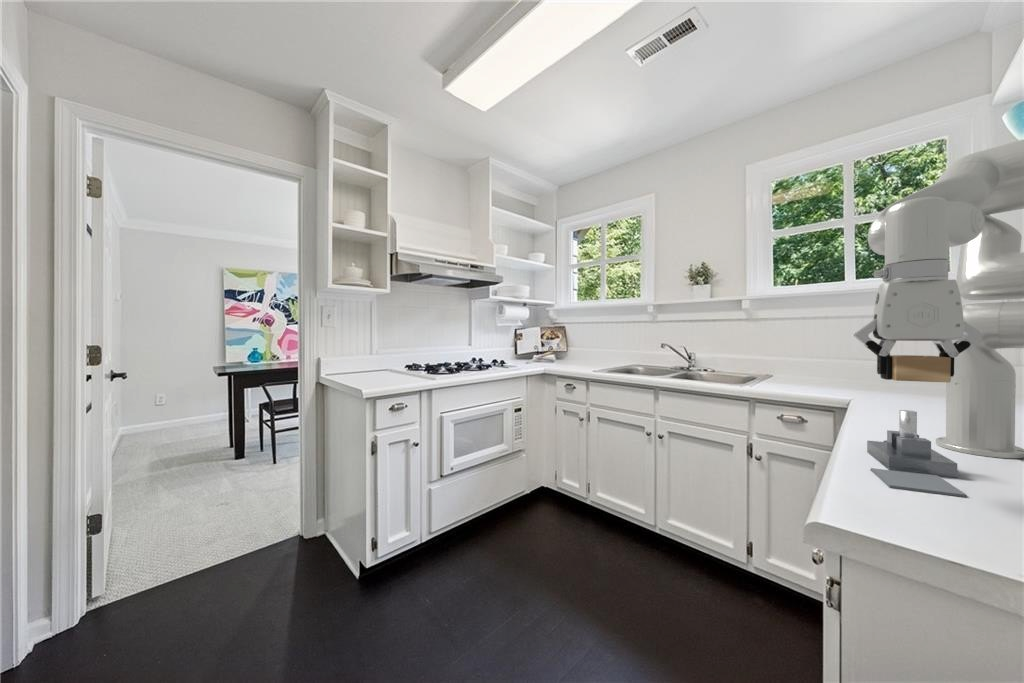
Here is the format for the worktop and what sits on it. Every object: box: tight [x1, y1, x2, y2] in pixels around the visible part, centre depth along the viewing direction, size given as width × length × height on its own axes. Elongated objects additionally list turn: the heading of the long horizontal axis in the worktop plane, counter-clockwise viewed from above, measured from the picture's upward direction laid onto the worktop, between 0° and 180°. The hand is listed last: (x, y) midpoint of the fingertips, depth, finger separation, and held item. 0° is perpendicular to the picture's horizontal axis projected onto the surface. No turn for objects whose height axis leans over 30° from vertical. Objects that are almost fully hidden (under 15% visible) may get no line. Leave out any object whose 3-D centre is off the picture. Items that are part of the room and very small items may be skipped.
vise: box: [866, 409, 958, 478], centre depth 78 cm, size 17×9×10 cm, turn 152°
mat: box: [870, 467, 968, 498], centre depth 67 cm, size 9×9×1 cm
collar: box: [890, 354, 951, 383], centre depth 66 cm, size 6×6×4 cm
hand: (913, 379), depth 66 cm, fingers closed on collar, 6 cm apart
